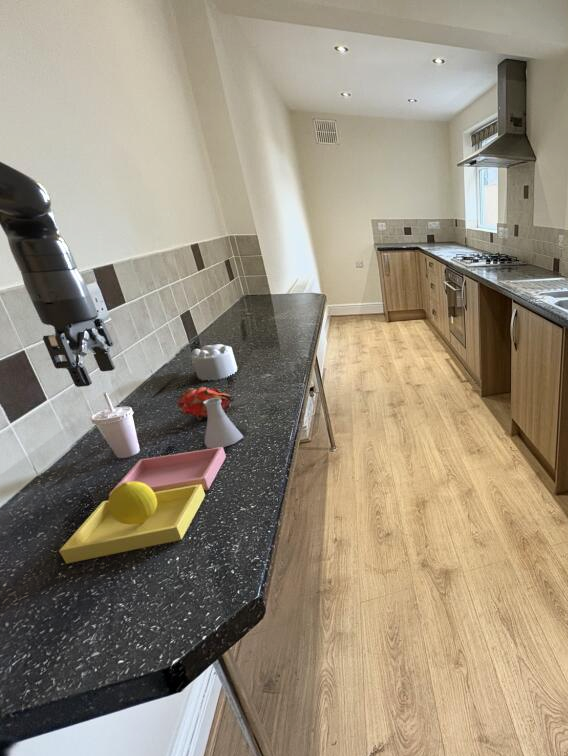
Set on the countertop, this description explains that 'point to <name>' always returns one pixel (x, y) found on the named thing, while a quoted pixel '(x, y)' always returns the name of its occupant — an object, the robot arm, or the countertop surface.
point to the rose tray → (177, 470)
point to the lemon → (132, 503)
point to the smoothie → (117, 429)
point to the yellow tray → (135, 526)
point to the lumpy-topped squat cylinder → (214, 362)
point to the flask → (219, 426)
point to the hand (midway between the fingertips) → (96, 377)
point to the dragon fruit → (201, 401)
